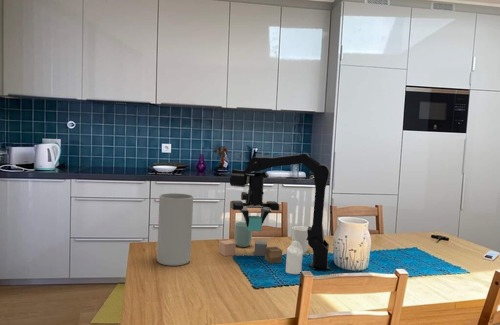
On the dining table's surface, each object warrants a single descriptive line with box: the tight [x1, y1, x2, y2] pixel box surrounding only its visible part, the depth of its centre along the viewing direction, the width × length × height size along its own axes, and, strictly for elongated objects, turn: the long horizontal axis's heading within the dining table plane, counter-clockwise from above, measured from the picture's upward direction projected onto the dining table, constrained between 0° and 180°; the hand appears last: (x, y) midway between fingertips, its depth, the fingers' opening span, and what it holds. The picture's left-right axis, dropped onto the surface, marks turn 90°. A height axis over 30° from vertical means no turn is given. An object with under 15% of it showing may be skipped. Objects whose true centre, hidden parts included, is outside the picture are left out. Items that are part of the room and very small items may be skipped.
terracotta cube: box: [218, 239, 237, 257], centre depth 164 cm, size 5×5×5 cm
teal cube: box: [246, 215, 263, 232], centre depth 158 cm, size 5×5×5 cm
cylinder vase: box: [156, 192, 194, 267], centre depth 150 cm, size 12×12×25 cm
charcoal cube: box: [253, 240, 268, 257], centre depth 166 cm, size 5×5×5 cm
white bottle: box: [285, 241, 304, 275], centre depth 146 cm, size 6×12×6 cm
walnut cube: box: [264, 246, 283, 264], centre depth 158 cm, size 5×5×5 cm
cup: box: [234, 221, 253, 248], centre depth 176 cm, size 8×8×10 cm
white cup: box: [291, 225, 309, 254], centre depth 174 cm, size 8×8×10 cm
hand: (253, 226), depth 158 cm, fingers closed on teal cube, 5 cm apart
